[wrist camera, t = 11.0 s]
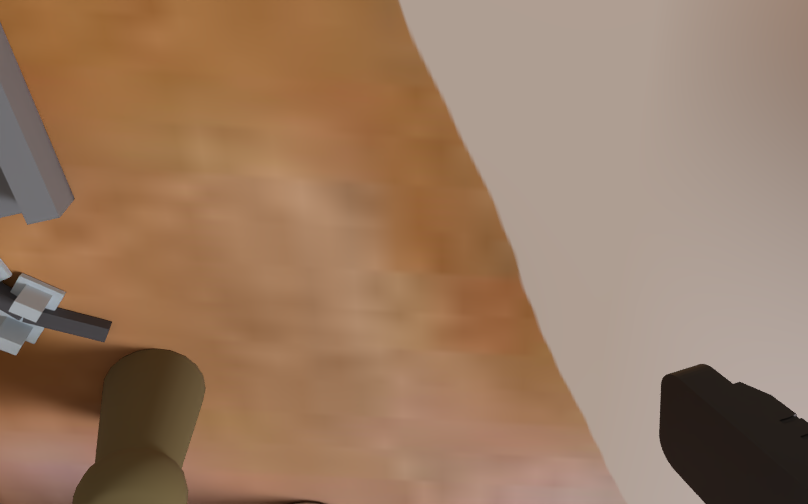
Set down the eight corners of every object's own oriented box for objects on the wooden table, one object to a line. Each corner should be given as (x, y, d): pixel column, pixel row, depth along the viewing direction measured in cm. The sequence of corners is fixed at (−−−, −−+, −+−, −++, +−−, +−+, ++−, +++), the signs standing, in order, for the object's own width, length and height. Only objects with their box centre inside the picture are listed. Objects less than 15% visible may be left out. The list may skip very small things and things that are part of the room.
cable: (117, 324, 35) (114, 332, 34) (88, 353, 35) (84, 362, 35) (-48, 216, 31) (-56, 222, 30) (-80, 250, 31) (-89, 257, 30)
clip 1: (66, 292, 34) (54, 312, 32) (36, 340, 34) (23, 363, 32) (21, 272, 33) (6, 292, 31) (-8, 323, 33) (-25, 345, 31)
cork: (218, 361, 38) (211, 489, 28) (187, 436, 39) (171, 582, 30) (118, 338, 36) (73, 467, 26) (90, 418, 37) (37, 569, 27)
